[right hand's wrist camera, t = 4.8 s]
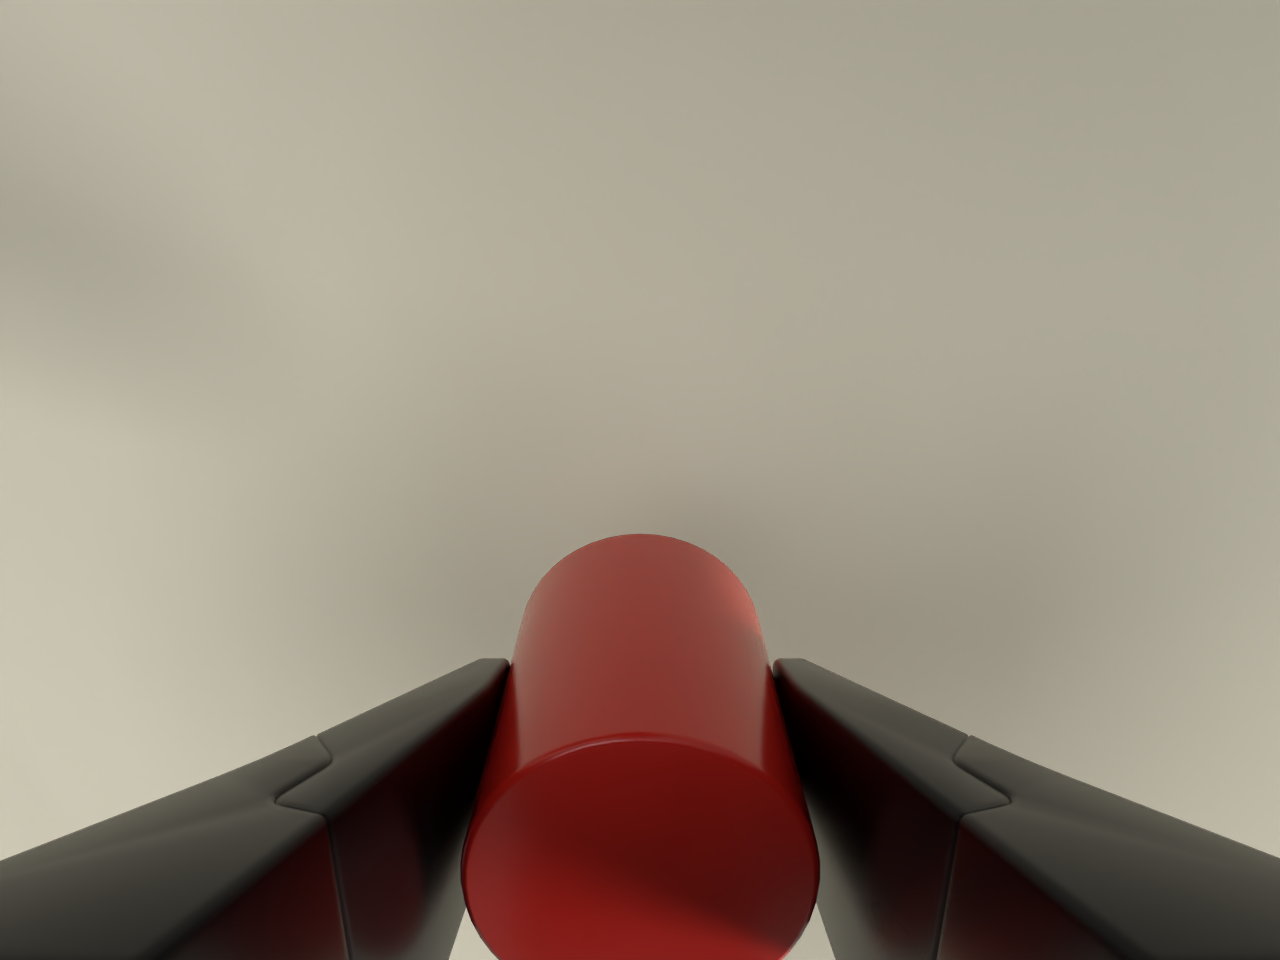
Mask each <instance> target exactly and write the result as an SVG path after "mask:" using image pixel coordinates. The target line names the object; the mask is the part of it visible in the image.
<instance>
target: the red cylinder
mask: <svg viewBox="0 0 1280 960" xmlns="http://www.w3.org/2000/svg"><path fill="white" fill-rule="evenodd" d="M460 877H461V886H462V892H463V897H464V901H465V905H466V908H467V910H468V913H469V916H470V919H471V921H472V923H473V925H474V927H475V929H476V930H477V932H478V934H479V936H480V938H481V939H482V940H483V942H484V943H485V944H486V946H487V947H488V948H489V950H490V951H491V952H492V953H493V954H494V955H495V956H496V957H497V958H498V959H499V960H782V959H783V958H784V957H785V956H786V955H787V954H788V953H789V952H790V951H791V949H792V948H793V947H794V945H795V944H796V942H797V941H798V940H799V938H800V937H801V936H802V934H803V932H804V930H805V928H806V926H807V924H808V922H809V920H810V918H811V915H812V912H813V909H814V906H815V904H816V900H817V896H818V890H819V884H820V857H819V851H818V845H817V840H816V837H815V833H814V829H813V825H812V822H811V818H810V814H809V810H808V806H807V803H806V799H805V795H804V791H803V788H802V784H801V780H800V776H799V772H798V769H797V765H796V761H795V757H794V753H793V750H792V746H791V742H790V738H789V735H788V731H787V727H786V723H785V719H784V716H783V712H782V708H781V704H780V701H779V697H778V693H777V689H776V685H775V682H774V678H773V674H772V670H771V666H770V663H769V659H768V655H767V651H766V648H765V644H764V640H763V636H762V632H761V629H760V625H759V621H758V617H757V614H756V611H755V608H754V605H753V602H752V600H751V598H750V596H749V594H748V592H747V590H746V589H745V587H744V586H743V585H742V583H741V582H740V580H739V579H738V577H737V576H736V575H735V574H734V573H733V572H732V571H731V570H730V569H729V568H728V567H727V566H726V565H725V564H723V563H722V562H721V561H720V560H718V559H717V558H716V557H714V556H713V555H711V554H710V553H708V552H706V551H705V550H703V549H701V548H699V547H697V546H694V545H692V544H690V543H688V542H685V541H681V540H678V539H675V538H671V537H666V536H660V535H652V534H629V535H620V536H615V537H610V538H606V539H602V540H599V541H596V542H593V543H590V544H588V545H586V546H584V547H582V548H580V549H577V550H576V551H574V552H573V553H571V554H569V555H568V556H566V557H565V558H563V559H562V560H561V561H560V562H558V563H557V564H556V565H555V566H554V567H552V568H551V570H550V571H549V572H548V573H547V574H546V575H545V576H544V577H543V578H542V580H541V581H540V582H539V584H538V585H537V587H536V588H535V590H534V591H533V593H532V595H531V597H530V599H529V601H528V604H527V607H526V610H525V613H524V616H523V620H522V623H521V627H520V631H519V635H518V639H517V642H516V646H515V650H514V654H513V657H512V661H511V665H510V669H509V673H508V676H507V680H506V684H505V688H504V692H503V695H502V699H501V703H500V707H499V710H498V714H497V718H496V722H495V726H494V729H493V733H492V737H491V741H490V745H489V748H488V752H487V756H486V760H485V763H484V767H483V771H482V775H481V779H480V782H479V786H478V790H477V794H476V798H475V801H474V805H473V809H472V813H471V816H470V820H469V824H468V828H467V832H466V835H465V839H464V843H463V848H462V855H461V861H460Z"/></svg>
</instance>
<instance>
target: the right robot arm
mask: <svg viewBox="0 0 1280 960" xmlns="http://www.w3.org/2000/svg"><path fill="white" fill-rule="evenodd" d="M509 669H510V664H509V662H508V660H506V659H504V658H484V659H479V660H476V661H474V662H472V663H470V664H468V665H466V666H463V667H461V668H459V669H457V670H455V671H453V672H451V673H448V674H446V675H444V676H442V677H440V678H438V679H436V680H433V681H431V682H429V683H427V684H425V685H423V686H420V687H418V688H416V689H414V690H412V691H410V692H408V693H405V694H403V695H401V696H399V697H397V698H395V699H393V700H390V701H388V702H386V703H384V704H382V705H380V706H377V707H375V708H373V709H371V710H369V711H367V712H365V713H362V714H360V715H358V716H356V717H354V718H352V719H350V720H347V721H345V722H343V723H341V724H339V725H337V726H334V727H332V728H330V729H328V730H326V731H324V732H322V733H319V734H318V735H317V736H310V737H308V738H306V739H304V740H302V741H300V742H298V743H295V744H293V745H291V746H289V747H286V748H284V749H282V750H280V751H277V752H275V753H273V754H271V755H268V756H266V757H264V758H262V759H259V760H257V761H254V762H252V763H249V764H247V765H244V766H242V767H239V768H237V769H235V770H232V771H230V772H227V773H225V774H222V775H220V776H217V777H215V778H212V779H209V780H207V781H204V782H202V783H199V784H197V785H194V786H191V787H189V788H186V789H184V790H181V791H179V792H176V793H173V794H171V795H168V796H166V797H163V798H161V799H158V800H155V801H153V802H150V803H148V804H145V805H143V806H140V807H137V808H135V809H132V810H130V811H127V812H125V813H122V814H119V815H117V816H114V817H112V818H109V819H107V820H104V821H101V822H99V823H96V824H94V825H91V826H89V827H86V828H83V829H81V830H78V831H76V832H73V833H71V834H68V835H65V836H63V837H60V838H58V839H55V840H53V841H50V842H47V843H45V844H42V845H40V846H37V847H35V848H32V849H29V850H27V851H24V852H22V853H19V854H17V855H14V856H11V857H9V858H6V859H4V860H1V861H0V960H449V957H450V954H451V951H452V948H453V945H454V942H455V939H456V936H457V933H458V929H459V926H460V923H461V920H462V917H463V914H464V911H465V908H466V905H465V901H464V897H463V892H462V886H461V877H460V861H461V855H462V848H463V843H464V839H465V835H466V832H467V828H468V824H469V820H470V816H471V813H472V809H473V805H474V801H475V798H476V794H477V790H478V786H479V782H480V779H481V775H482V771H483V767H484V763H485V760H486V756H487V752H488V748H489V745H490V741H491V737H492V733H493V729H494V726H495V722H496V718H497V714H498V710H499V707H500V703H501V699H502V695H503V692H504V688H505V684H506V680H507V676H508V673H509ZM772 674H773V678H774V682H775V685H776V689H777V693H778V697H779V701H780V704H781V708H782V712H783V716H784V719H785V723H786V727H787V731H788V735H789V738H790V742H791V746H792V750H793V753H794V757H795V761H796V765H797V769H798V772H799V776H800V780H801V784H802V788H803V791H804V795H805V799H806V803H807V806H808V810H809V814H810V818H811V822H812V825H813V829H814V833H815V837H816V840H817V845H818V851H819V857H820V884H819V890H818V896H817V900H816V903H817V906H818V909H819V912H820V915H821V918H822V920H823V923H824V926H825V929H826V932H827V935H828V938H829V941H830V944H831V947H832V950H833V953H834V956H835V959H836V960H1280V858H1278V857H1275V856H1273V855H1270V854H1268V853H1265V852H1262V851H1260V850H1257V849H1255V848H1252V847H1249V846H1247V845H1244V844H1242V843H1239V842H1237V841H1234V840H1231V839H1229V838H1226V837H1224V836H1221V835H1218V834H1216V833H1213V832H1211V831H1208V830H1205V829H1203V828H1200V827H1198V826H1195V825H1192V824H1190V823H1187V822H1185V821H1182V820H1180V819H1177V818H1174V817H1172V816H1169V815H1167V814H1164V813H1161V812H1159V811H1156V810H1154V809H1151V808H1148V807H1146V806H1143V805H1141V804H1138V803H1136V802H1133V801H1130V800H1128V799H1125V798H1123V797H1120V796H1117V795H1115V794H1112V793H1110V792H1107V791H1104V790H1102V789H1099V788H1097V787H1094V786H1091V785H1089V784H1086V783H1084V782H1081V781H1079V780H1076V779H1073V778H1071V777H1068V776H1066V775H1063V774H1061V773H1058V772H1056V771H1053V770H1051V769H1048V768H1046V767H1043V766H1041V765H1038V764H1036V763H1033V762H1031V761H1028V760H1026V759H1024V758H1021V757H1019V756H1017V755H1014V754H1012V753H1010V752H1008V751H1005V750H1003V749H1001V748H998V747H996V746H994V745H992V744H989V743H987V742H985V741H983V740H981V739H979V738H976V737H974V736H969V737H968V735H967V734H965V733H963V732H961V731H959V730H957V729H954V728H952V727H950V726H948V725H946V724H944V723H941V722H939V721H937V720H935V719H933V718H930V717H928V716H926V715H924V714H922V713H920V712H917V711H915V710H913V709H911V708H909V707H907V706H904V705H902V704H900V703H898V702H896V701H894V700H891V699H889V698H887V697H885V696H883V695H881V694H878V693H876V692H874V691H872V690H870V689H868V688H865V687H863V686H861V685H859V684H857V683H855V682H852V681H850V680H848V679H846V678H844V677H842V676H839V675H837V674H835V673H833V672H831V671H829V670H826V669H824V668H822V667H820V666H818V665H816V664H813V663H811V662H809V661H807V660H805V659H800V658H779V659H777V660H776V661H775V662H774V664H773V673H772Z"/></svg>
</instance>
